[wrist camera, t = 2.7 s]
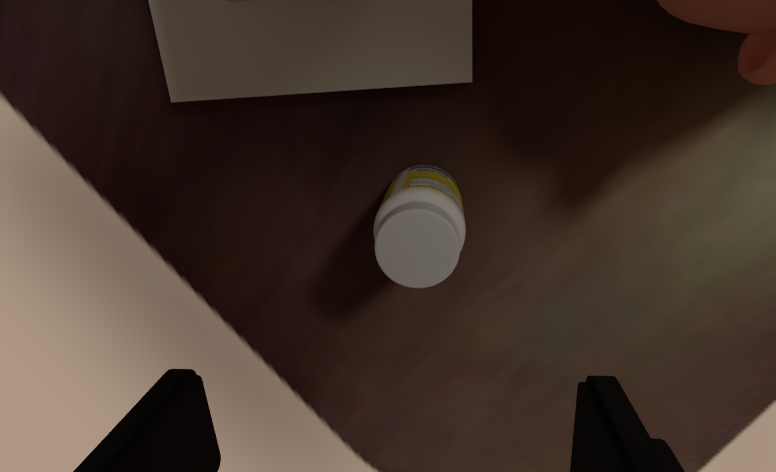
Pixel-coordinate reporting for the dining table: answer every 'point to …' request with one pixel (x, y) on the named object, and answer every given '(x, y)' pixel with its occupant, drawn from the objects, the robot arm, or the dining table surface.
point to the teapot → (738, 30)
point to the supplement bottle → (420, 227)
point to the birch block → (235, 0)
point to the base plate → (309, 45)
